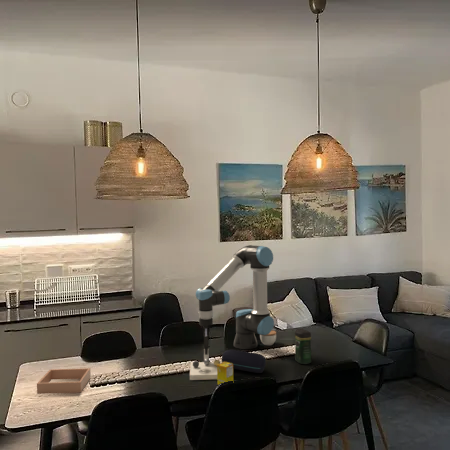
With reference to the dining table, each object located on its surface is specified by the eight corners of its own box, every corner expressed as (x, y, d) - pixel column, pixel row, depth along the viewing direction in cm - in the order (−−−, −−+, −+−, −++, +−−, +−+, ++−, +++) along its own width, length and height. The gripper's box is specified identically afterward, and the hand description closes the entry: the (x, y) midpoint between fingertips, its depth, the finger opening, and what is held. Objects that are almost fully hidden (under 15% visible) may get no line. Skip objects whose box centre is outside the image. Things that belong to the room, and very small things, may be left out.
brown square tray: (90, 377, 252) (90, 368, 252) (80, 392, 232) (80, 382, 232) (50, 378, 251) (49, 369, 251) (37, 393, 231) (36, 383, 231)
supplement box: (224, 382, 242) (224, 361, 242) (233, 385, 239) (233, 363, 238) (217, 386, 238) (216, 364, 237) (226, 388, 234) (226, 366, 234)
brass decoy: (220, 364, 262) (219, 358, 262) (220, 366, 258) (220, 360, 258) (213, 365, 262) (213, 358, 261) (213, 367, 258) (213, 360, 258)
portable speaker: (269, 371, 259) (268, 352, 258) (261, 376, 250) (260, 358, 249) (228, 363, 271) (228, 346, 271) (219, 369, 263) (219, 351, 262)
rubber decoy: (199, 366, 260) (198, 359, 260) (198, 368, 257) (198, 362, 257) (192, 366, 260) (192, 360, 260) (192, 368, 257) (192, 362, 256)
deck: (190, 366, 266) (190, 362, 266) (222, 366, 267) (222, 361, 267) (189, 380, 246) (189, 375, 246) (224, 378, 247) (224, 374, 247)
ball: (209, 363, 263) (209, 357, 263) (210, 366, 260) (209, 359, 260) (203, 364, 263) (203, 358, 263) (203, 366, 260) (203, 360, 260)
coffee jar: (313, 363, 269) (313, 331, 268) (300, 365, 266) (300, 332, 266) (305, 358, 278) (305, 327, 277) (293, 360, 276) (292, 328, 275)
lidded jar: (256, 342, 311) (256, 328, 311) (271, 340, 316) (270, 326, 315) (265, 347, 301) (264, 332, 301) (279, 344, 306) (279, 330, 306)
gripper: (199, 315, 272) (199, 356, 273) (198, 320, 259) (199, 363, 260) (212, 315, 272) (212, 355, 273) (212, 320, 259) (213, 363, 260)
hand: (206, 359), depth 267 cm, fingers closed
